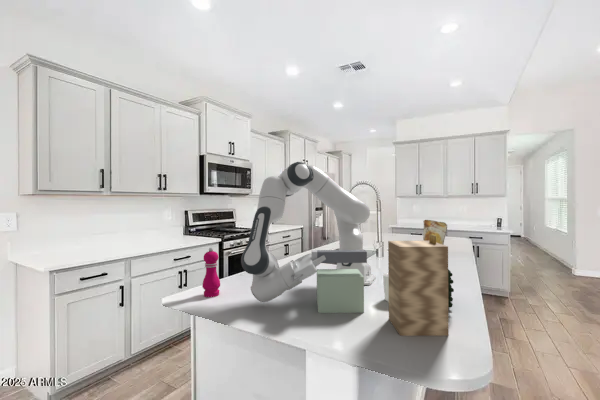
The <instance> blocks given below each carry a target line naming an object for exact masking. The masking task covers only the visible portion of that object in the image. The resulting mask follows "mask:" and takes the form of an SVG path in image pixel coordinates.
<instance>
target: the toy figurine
mask: <svg viewBox="0 0 600 400" xmlns="http://www.w3.org/2000/svg"><path fill="white" fill-rule="evenodd" d="M452 276H453V273H452V272H451V270H450V269H448V308H452V307H453V306H454V305H453V300H454V298H453V296H452V293H453V292H454V291H455V290H454V288H453V287H452V284H454V280H453V279H452Z"/></svg>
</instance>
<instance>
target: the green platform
mask: <svg viewBox="0 0 600 400" xmlns="http://www.w3.org/2000/svg"><path fill="white" fill-rule="evenodd" d="M316 270H317V272H316V302H317V303H316V304H317V311H318V314H344V313H345V314H349V313H352V314H354V313H356V314H359V313H360V314H361V313H365V285H364V277H363V275H362V274H361V273H360V271H359V270H358V269H336V268H334V269H333V268H326V269H325V268H320V269H318V268H316Z"/></svg>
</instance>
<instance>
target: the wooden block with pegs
mask: <svg viewBox="0 0 600 400" xmlns="http://www.w3.org/2000/svg"><path fill="white" fill-rule="evenodd" d="M387 244H388V246H387V247H388V249H387V250H388V252H387V253H388V254H387V255H388V264H387V265H388V269H387V271H388V273H389V302H388V320H389V322H390V323H391V324H392V326H393V327H394V329H395V330H396V332H397V333H398V334H399V336H401V337H403V336H404V337H406V336H407V337H411V336H412V337H413V336H414V337H415V336H416V337H417V336H420V337H421V336H422V337H423V336H424V337H425V336H426V337H427V336H432V337H434V336H439V337H443V336H449V307H448V270H449V246H448V245H445V244H444V245H442V244H439V243H437V242H436V236H434V235H429V241H423V240H388V243H387Z"/></svg>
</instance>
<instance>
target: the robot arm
mask: <svg viewBox="0 0 600 400" xmlns="http://www.w3.org/2000/svg"><path fill="white" fill-rule="evenodd" d="M303 188H305V189H307V191H309V192H310V193H311V194H312V195H313V196H314V197H315V198H317V199H318V200H319V202H321V203H322V204H323V205H325V206H326V207H328V208H330V209H331V210H332V211H333V214H334V216H335V219H336V223H337V224H336V225H337V229H338V236H339V237H338V239H339V241H338V242H339V250H364V236H363V233H362V231H361V228H360V225H361V224H363V223H366V222H367V221H368V220H369V218H370V214H371V210H370V207H369V206H368V204H366V203H365V202H364V201H361V200H360V199H359V198H357V197H356V196H355V195H353V194H352V193H350V192H349V191H347V190H346V189H344V188H343V187H342V186H340V185H339V184H338V183H337V182H336V181H335V180H334V179H332V178H331V177H330V176H329V175H328V174H327V173H325V171H323V170H321V169H320V168H318V167H317V166H314V165H312V164H310V165H308V164H306V163H305V162H302V161H297V162H293V163H291V164H290V165H289V166H287V168H285V169H283V171H282V172H281V173H280V174H279V175H278V176H275V175H274V176H268V177H266V178H264V179H263V183H262V185H261V188H260V192H259V196H258V202H257V208H256V211H255V213H254V217H253V221H252V226H251V230H250V234H249V238H248V242H247V245H245V248H244V250H243V252H242V254H241V258H240V266H241V267H242V269H243V270H244V272H246V273H247V274H249V275H252V281H251V282H252V283H251V286H250V292H251V294H252V295H253V297H254V298H255V299H256V300H257V301H259V302H260V303H268V302H270V301H273V300H274V299H276V298H278V297H280V296H282V295H283V294H284V293H285V292H286V291H288V290H289V291H290V290H292V289H293V288H295V287H297V286H298V285H300V284H302V283H303V280H306V279H308V278H309V277H311V276H314V274H317V267H318V266H319V265H320V264H322V263H321V262H323V261H324V260H326V257H325V256H324V255H322V256H320V257H319V258H317V259H316V260H313V261H312V257H311V253H307V254H305V255H303V256H301V257H299V258H296V259H295V260H290V261H288V262H287V263H285V264H283V265H281V266H279V263H278V260H277V257H276V256H274V254H272V253H271V252H269V251H268V249H267V241H268V240H267V239H268V234H269V230H270V229H269V228H270V226H271V224H272V223H273V224H274V223H277V222H278V221H280V220H282V218H283V216H284V211H285V206H286V198H287V197H291V196H293V195H294V194H296V193H298V192H299V191H301V189H303ZM335 269H358V270H359V271H360V273H361V274H362V275H363V277H364V286H370V285H372V283H374V281H375V280H376V277H377V276H376V275H375V274H372V267H371V265H370V263H369V262H367V263H336V268H335Z"/></svg>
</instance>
